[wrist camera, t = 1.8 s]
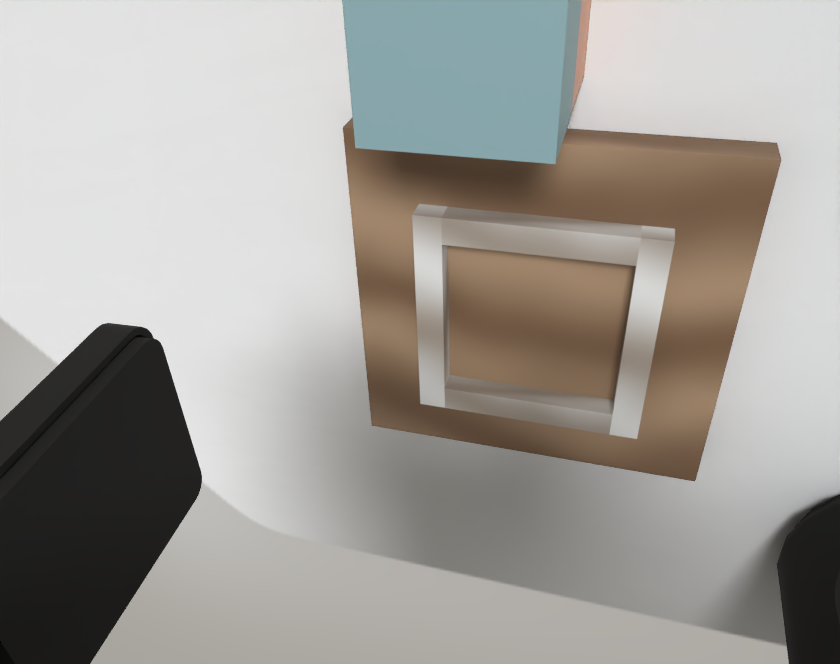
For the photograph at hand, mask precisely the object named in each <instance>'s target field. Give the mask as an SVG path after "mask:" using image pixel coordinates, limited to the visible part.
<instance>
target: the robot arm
mask: <svg viewBox="0 0 840 664" xmlns="http://www.w3.org/2000/svg"><path fill="white" fill-rule="evenodd" d="M201 483H202V475H201V470H200V467H199V464H198V460H197V457H196V454H195V451H194V447H193V444H192V441H191V438H190V434H189V431H188V428H187V425H186V421H185V418H184V415H183V412H182V408H181V405H180V402H179V399H178V395H177V392H176V389H175V386H174V382H173V379H172V376H171V373H170V369H169V366H168V363H167V360H166V356H165V353H164V350H163V347H162V345H161V343H160V342H159V341H158V340H156V339H154V338H153V336H152V334H151V332H150V331H149V330H148V329H146V328H143V327H137V326H129V325H120V324H111V323H107V324H102V325H101V326H99V327H98V328H96V329H95V330H94V331H93V332H92V333H91V334H90V335H89V336H88V337H87V338H86V339H85V340H84V341H83V342H82V343H81V344H80V345H79V346H78V347H77V348H76V349H75V350H74V351H73V352H71V353H70V354H69V355H68V356H67V357H66V358H65V359H64V360H63V361H62V362H61V363H60V364H59V365H58V366H57V367H56V368H55V369H54V370H53V371H52V372H51V373H50V374H49V375H48V376H47V377H46V378H45V379H44V380H43V381H41V382H40V384H38V385H37V386H36V387H35V388H34V389H33V390H32V391H31V392H30V393H29V394H28V395H27V396H26V397H25V398H24V399H23V400H22V401H21V402H20V403H19V404H18V405H17V406H16V407H15V408H14V409H13V410H11V411H10V412H9V413H8V414H7V415H6V416H5V417H4V418H3V419H2V420H1V421H0V664H90V663H91V661H92V660H93V658H94V656H95V655H96V654H97V652H98V650H99V649H100V647H101V646H102V644H103V643H104V641H105V639H106V638H107V637H108V635H109V633H110V632H111V630H112V629H113V627H114V626H115V624H116V623H117V621H118V620H119V618H120V616H121V615H122V613H123V612H124V610H125V609H126V607H127V606H128V604H129V602H130V601H131V599H132V598H133V596H134V595H135V593H136V592H137V590H138V588H139V587H140V585H141V584H142V582H143V581H144V579H145V578H146V576H147V574H148V573H149V571H150V570H151V568H152V566H153V565H154V564H155V562H156V560H157V559H158V557H159V556H160V554H161V553H162V551H163V550H164V548H165V547H166V545H167V543H168V542H169V540H170V539H171V537H172V536H173V534H174V533H175V531H176V529H177V528H178V526H179V525H180V523H181V522H182V520H183V519H184V517H185V515H186V514H187V512H188V511H189V509H190V508H191V506H192V505H193V503H194V502H195V500H196V498H197V496H198V494H199V491H200V488H201ZM835 605H836V610H837V615H838V619H839V624H840V571H839V573H838V576H837V579H836V585H835Z"/></svg>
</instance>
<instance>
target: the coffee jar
mask: <svg viewBox="0 0 840 664" xmlns="http://www.w3.org/2000/svg"><path fill="white" fill-rule="evenodd" d="M777 568H778V576H779V585H780V593H781V601H782V609H783V618H784V626H785V634H786V642H787V650H788V659H789V664H840V624H839V619H838V615H837V610H836V605H835V585H836V579H837V576H838V573H839V571H840V495H838V496H836V497H834V498H832V499H831V500H829V501H827V502H825V503H823V504H821V505H819V506H817V507H815V508H813V509H812V510H811V511H810V512H809V513H808V514H807V515H806V516H805V517H804V518H803V519H802V520H801V521H800V522H799V523H798V524H797V525H796V526H795V529H794V530H793V531H792V532H791V533H790V534H789V535H788V536H787V538H786V540H785V543H784V545H783V548H782V551H781V554H780V557H779V560H778V563H777Z"/></svg>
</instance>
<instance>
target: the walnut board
mask: <svg viewBox="0 0 840 664" xmlns="http://www.w3.org/2000/svg"><path fill="white" fill-rule="evenodd" d="M343 133H344V143H345V154H346V164H347V174H348V184H349V195H350V205H351V215H352V225H353V236H354V246H355V256H356V266H357V277H358V287H359V297H360V308H361V318H362V328H363V338H364V349H365V359H366V369H367V379H368V390H369V400H370V410H371V420H372V426H378V427H384V428H390V429H395V430H401V431H407V432H413V433H419V434H424V435H430V436H436V437H442V438H447V439H453V440H459V441H465V442H471V443H476V444H482V445H488V446H494V447H500V448H505V449H511V450H517V451H523V452H528V453H534V454H540V455H546V456H552V457H557V458H563V459H569V460H575V461H580V462H586V463H592V464H598V465H604V466H609V467H615V468H621V469H627V470H633V471H638V472H644V473H650V474H656V475H661V476H667V477H673V478H679V479H685V480H690V481H695V480H696V476H697V472H698V468H699V465H700V461H701V457H702V453H703V450H704V446H705V442H706V439H707V435H708V431H709V427H710V424H711V420H712V416H713V412H714V409H715V405H716V401H717V398H718V394H719V390H720V386H721V383H722V379H723V375H724V371H725V368H726V364H727V360H728V357H729V353H730V349H731V345H732V342H733V338H734V334H735V330H736V327H737V323H738V319H739V316H740V312H741V308H742V304H743V301H744V297H745V293H746V289H747V286H748V282H749V278H750V274H751V271H752V267H753V263H754V260H755V256H756V252H757V248H758V245H759V241H760V237H761V233H762V230H763V226H764V222H765V219H766V215H767V211H768V207H769V204H770V200H771V196H772V192H773V189H774V185H775V181H776V178H777V174H778V170H779V166H780V163H781V157H780V153H779V149H778V145H777V143H769V142H754V141H739V140H725V139H710V138H696V137H681V136H667V135H652V134H638V133H623V132H609V131H594V130H580V129H567V130H566V133H565V136H564V139H563V142H562V145H561V149H560V152H559V155H558V158H557V161H556V164H547V163H534V162H522V161H509V160H497V159H485V158H472V157H460V156H448V155H435V154H423V153H410V152H398V151H386V150H373V149H361V148H355V138H354V127H353V118H352V119H351V120H350V121H349V122H348V123H347V124H346V125H345V126H344V127H343Z"/></svg>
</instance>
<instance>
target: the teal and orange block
mask: <svg viewBox="0 0 840 664" xmlns="http://www.w3.org/2000/svg"><path fill="white" fill-rule="evenodd" d="M342 3H343V14H344V25H345V36H346V48H347V59H348V70H349V82H350V93H351V104H352V115H353V127H354V138H355V148H361V149H373V150H386V151H398V152H410V153H423V154H435V155H448V156H460V157H472V158H485V159H497V160H509V161H522V162H534V163H547V164H556V161H557V158H558V155H559V152H560V149H561V145H562V142H563V139H564V136H565V133H566V130H567V127H568V124H569V121H570V118H571V115H572V111H573V108H574V105H575V102H576V99H577V96H578V93H579V90H580V87H581V84H582V81H583V78H584V71H585V60H586V50H587V40H588V29H589V19H590V8H591V0H342Z"/></svg>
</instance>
